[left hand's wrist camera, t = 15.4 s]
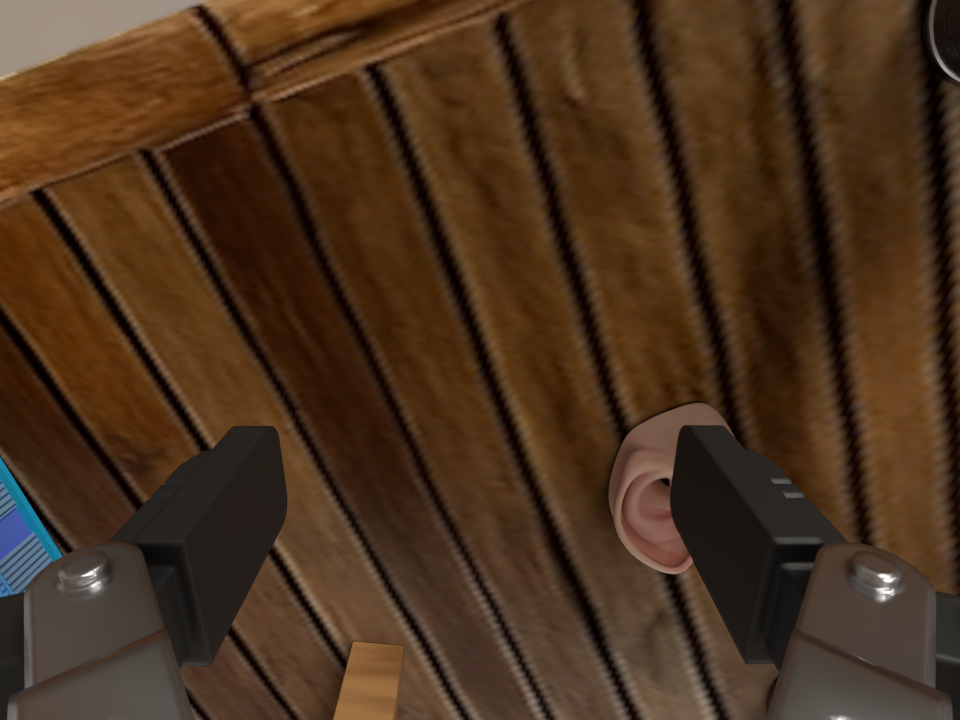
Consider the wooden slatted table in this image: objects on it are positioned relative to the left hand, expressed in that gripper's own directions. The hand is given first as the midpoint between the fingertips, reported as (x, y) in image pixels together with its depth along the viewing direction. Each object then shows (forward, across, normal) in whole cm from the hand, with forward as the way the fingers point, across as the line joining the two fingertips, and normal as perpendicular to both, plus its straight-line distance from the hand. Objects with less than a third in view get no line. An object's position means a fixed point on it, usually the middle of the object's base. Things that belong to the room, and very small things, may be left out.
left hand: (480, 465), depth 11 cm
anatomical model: (+32, +16, -20) cm, 41 cm away
